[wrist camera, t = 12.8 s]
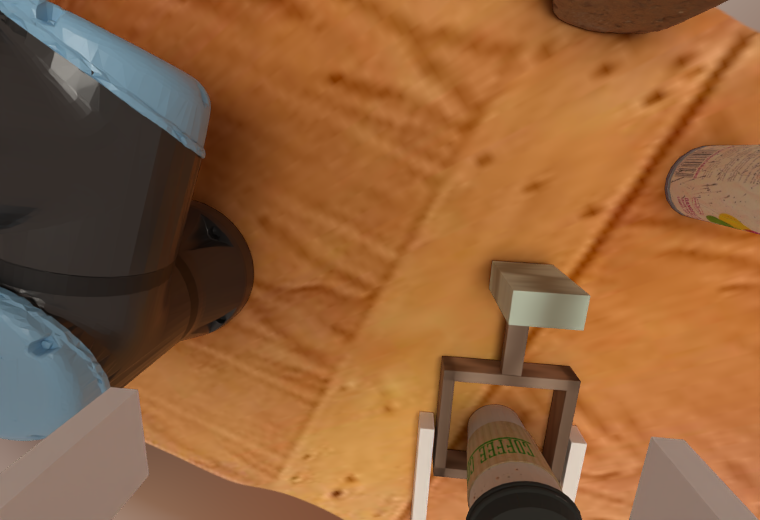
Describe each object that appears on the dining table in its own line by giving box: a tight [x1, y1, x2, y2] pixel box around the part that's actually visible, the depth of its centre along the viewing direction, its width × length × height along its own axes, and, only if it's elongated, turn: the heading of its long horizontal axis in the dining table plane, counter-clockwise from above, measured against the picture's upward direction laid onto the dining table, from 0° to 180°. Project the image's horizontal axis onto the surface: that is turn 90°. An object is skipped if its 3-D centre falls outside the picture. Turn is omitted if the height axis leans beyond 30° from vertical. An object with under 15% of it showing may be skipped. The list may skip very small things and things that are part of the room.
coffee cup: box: [466, 405, 582, 520], centre depth 40 cm, size 10×10×15 cm
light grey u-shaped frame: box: [411, 412, 587, 520], centre depth 48 cm, size 18×20×3 cm
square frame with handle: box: [433, 261, 590, 484], centre depth 40 cm, size 14×25×10 cm, turn 177°
